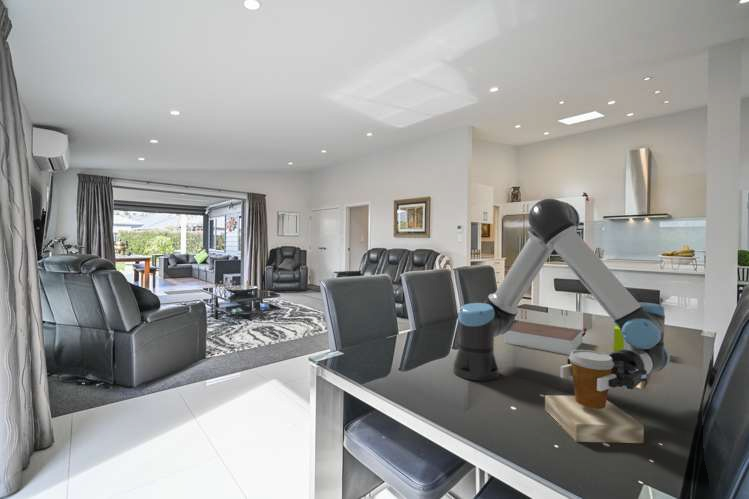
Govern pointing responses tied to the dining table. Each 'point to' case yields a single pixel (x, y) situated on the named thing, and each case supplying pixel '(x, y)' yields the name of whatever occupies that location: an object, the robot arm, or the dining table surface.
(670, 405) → the dining table surface
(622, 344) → the puzzle toy
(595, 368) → the disposable coffee cup
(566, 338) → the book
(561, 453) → the dining table surface
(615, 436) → the wooden base block
